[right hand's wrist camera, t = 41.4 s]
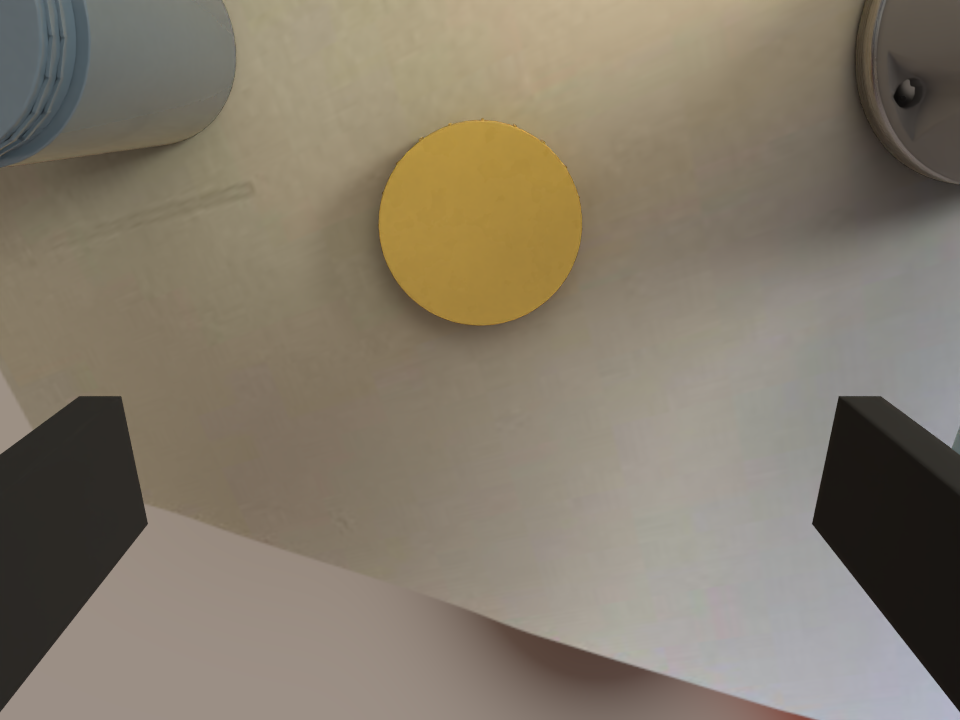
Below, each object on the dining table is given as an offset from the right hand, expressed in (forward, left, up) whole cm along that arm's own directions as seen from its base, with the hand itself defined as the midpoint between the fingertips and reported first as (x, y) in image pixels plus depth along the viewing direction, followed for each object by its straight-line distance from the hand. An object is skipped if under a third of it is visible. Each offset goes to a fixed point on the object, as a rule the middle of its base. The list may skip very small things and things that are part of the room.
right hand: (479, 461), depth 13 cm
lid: (0, 0, -25) cm, 25 cm away
